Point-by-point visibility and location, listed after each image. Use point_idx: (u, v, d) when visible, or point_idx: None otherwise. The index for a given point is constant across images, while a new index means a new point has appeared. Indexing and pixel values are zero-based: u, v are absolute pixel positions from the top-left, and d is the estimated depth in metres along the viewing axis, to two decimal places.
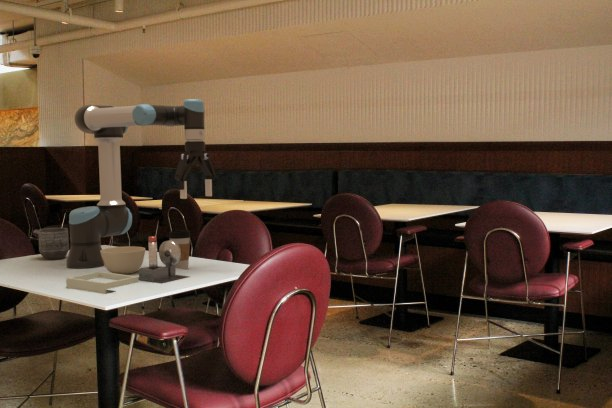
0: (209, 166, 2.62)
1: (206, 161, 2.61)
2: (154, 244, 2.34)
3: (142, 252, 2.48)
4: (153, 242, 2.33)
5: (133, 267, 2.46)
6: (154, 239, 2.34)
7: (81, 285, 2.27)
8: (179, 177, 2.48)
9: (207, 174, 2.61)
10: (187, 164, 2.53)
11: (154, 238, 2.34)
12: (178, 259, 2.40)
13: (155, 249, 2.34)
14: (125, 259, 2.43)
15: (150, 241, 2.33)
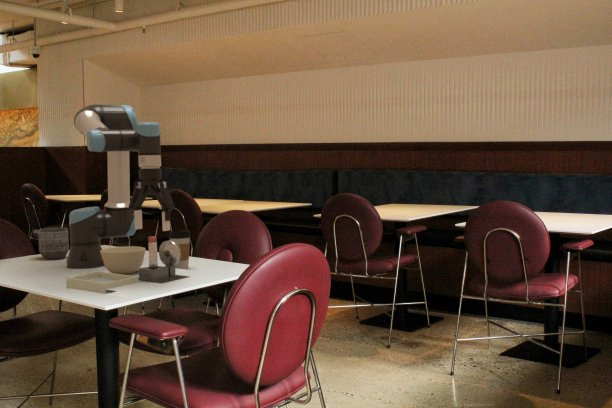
0: None
1: None
2: (154, 244, 2.34)
3: (142, 252, 2.48)
4: (153, 242, 2.33)
5: (133, 267, 2.46)
6: (154, 239, 2.34)
7: (81, 285, 2.27)
8: (129, 206, 2.38)
9: None
10: None
11: (154, 238, 2.34)
12: (178, 259, 2.40)
13: (155, 249, 2.34)
14: (125, 259, 2.43)
15: (150, 241, 2.33)
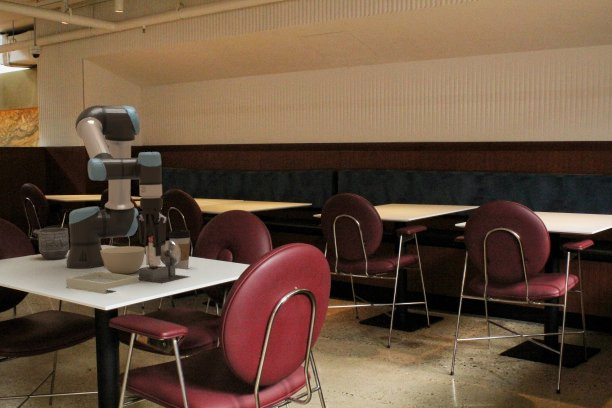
0: None
1: None
2: None
3: (142, 252, 2.48)
4: (153, 242, 2.33)
5: (133, 267, 2.46)
6: None
7: (81, 285, 2.27)
8: (140, 242, 2.36)
9: None
10: None
11: None
12: (178, 259, 2.40)
13: None
14: (125, 259, 2.43)
15: (150, 241, 2.33)
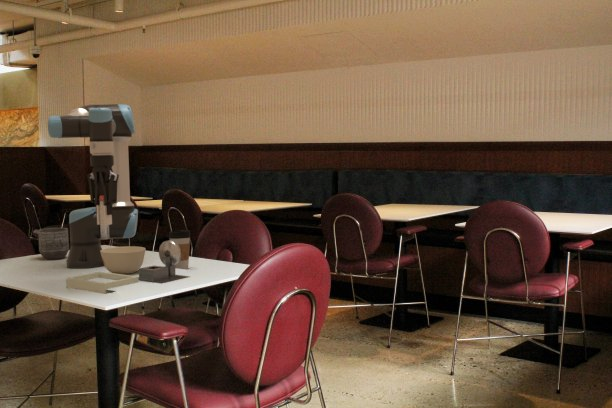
0: None
1: None
2: None
3: (142, 252, 2.48)
4: (104, 201, 2.28)
5: (133, 267, 2.46)
6: None
7: (81, 285, 2.27)
8: (91, 201, 2.31)
9: None
10: None
11: None
12: (178, 259, 2.40)
13: None
14: (125, 259, 2.43)
15: (101, 200, 2.28)
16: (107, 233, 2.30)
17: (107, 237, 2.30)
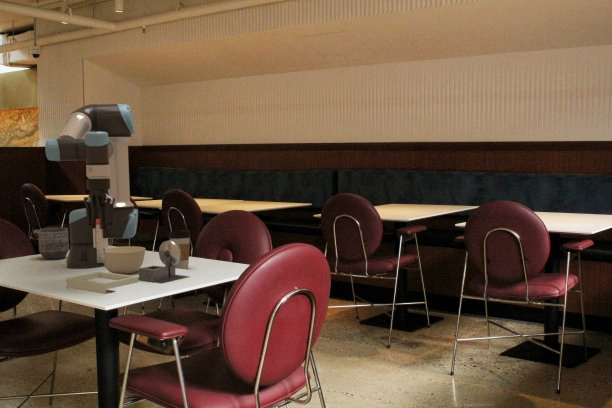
0: None
1: None
2: None
3: (142, 252, 2.48)
4: (100, 224, 2.28)
5: (133, 267, 2.46)
6: None
7: (81, 285, 2.27)
8: (87, 224, 2.31)
9: None
10: None
11: None
12: (178, 259, 2.40)
13: None
14: (125, 259, 2.43)
15: (97, 223, 2.28)
16: (103, 256, 2.29)
17: (103, 260, 2.29)
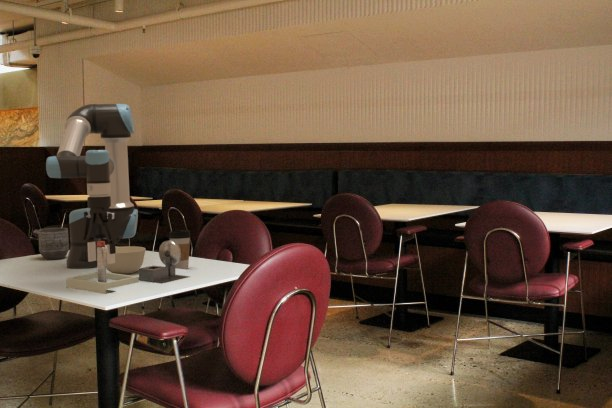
0: None
1: None
2: (102, 249, 2.29)
3: (142, 252, 2.48)
4: (101, 247, 2.29)
5: (133, 267, 2.46)
6: (102, 244, 2.29)
7: (81, 285, 2.27)
8: (82, 238, 2.33)
9: None
10: None
11: (102, 243, 2.29)
12: (178, 259, 2.40)
13: (103, 254, 2.30)
14: (125, 259, 2.43)
15: (98, 246, 2.29)
16: (104, 279, 2.30)
17: None
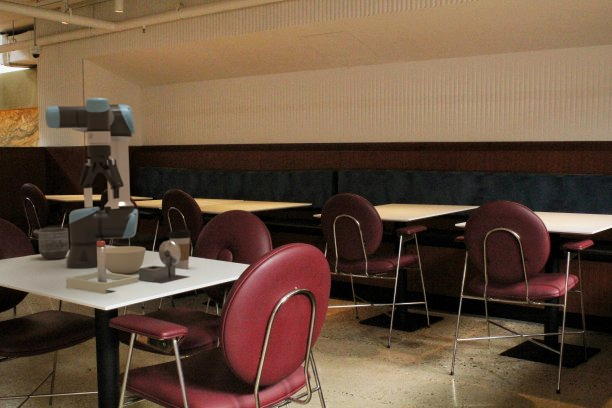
0: None
1: None
2: (102, 249, 2.29)
3: (142, 252, 2.48)
4: (101, 246, 2.29)
5: (133, 267, 2.46)
6: (102, 243, 2.29)
7: (81, 285, 2.27)
8: (79, 183, 2.34)
9: None
10: None
11: (102, 242, 2.29)
12: (178, 259, 2.40)
13: (103, 254, 2.30)
14: (125, 259, 2.43)
15: (98, 245, 2.29)
16: (104, 279, 2.30)
17: None
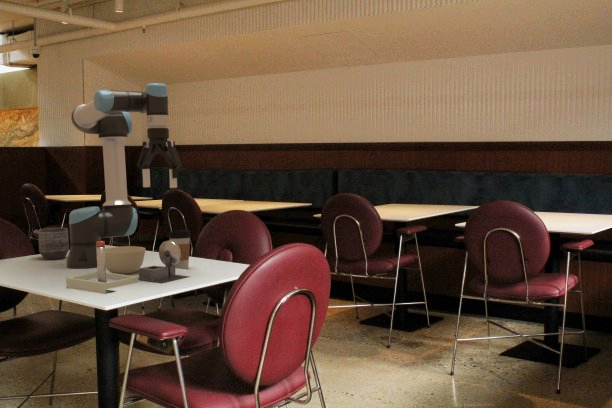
0: None
1: None
2: (102, 249, 2.29)
3: (142, 252, 2.48)
4: (101, 247, 2.29)
5: (133, 267, 2.46)
6: (102, 244, 2.29)
7: (81, 285, 2.27)
8: (137, 165, 2.47)
9: None
10: None
11: (102, 243, 2.29)
12: (178, 259, 2.40)
13: (103, 254, 2.30)
14: (125, 259, 2.43)
15: (98, 246, 2.29)
16: (104, 279, 2.30)
17: None
